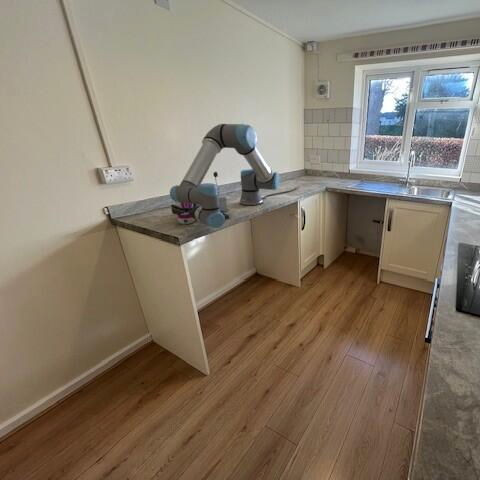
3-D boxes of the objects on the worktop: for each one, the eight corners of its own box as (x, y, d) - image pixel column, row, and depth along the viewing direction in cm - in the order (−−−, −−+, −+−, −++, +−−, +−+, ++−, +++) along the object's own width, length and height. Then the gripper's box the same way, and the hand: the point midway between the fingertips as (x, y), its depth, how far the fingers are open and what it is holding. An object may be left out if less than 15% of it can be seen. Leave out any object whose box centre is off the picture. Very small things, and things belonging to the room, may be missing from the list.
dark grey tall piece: (207, 200, 184) (203, 172, 176) (221, 198, 192) (218, 170, 184) (213, 202, 179) (209, 173, 172) (228, 200, 187) (225, 171, 180)
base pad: (217, 213, 155) (217, 210, 154) (229, 218, 147) (228, 214, 146) (196, 218, 146) (196, 214, 145) (208, 223, 138) (207, 219, 137)
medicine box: (227, 209, 164) (225, 196, 161) (227, 211, 160) (225, 197, 157) (213, 210, 161) (212, 196, 158) (213, 212, 158) (212, 198, 154)
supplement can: (198, 222, 139) (194, 194, 133) (181, 225, 133) (176, 196, 128) (192, 218, 144) (188, 192, 139) (176, 221, 139) (171, 194, 133)
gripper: (180, 226, 119) (161, 216, 132) (222, 217, 134) (201, 208, 148) (177, 210, 116) (158, 201, 130) (220, 202, 131) (199, 195, 145)
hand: (181, 205), depth 139 cm, fingers closed on supplement can, 8 cm apart
